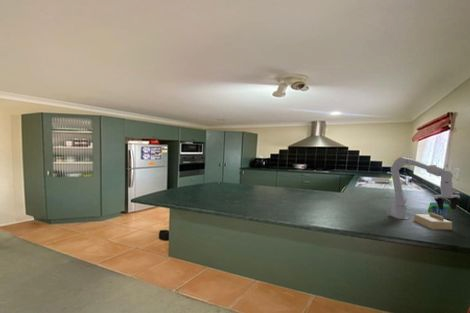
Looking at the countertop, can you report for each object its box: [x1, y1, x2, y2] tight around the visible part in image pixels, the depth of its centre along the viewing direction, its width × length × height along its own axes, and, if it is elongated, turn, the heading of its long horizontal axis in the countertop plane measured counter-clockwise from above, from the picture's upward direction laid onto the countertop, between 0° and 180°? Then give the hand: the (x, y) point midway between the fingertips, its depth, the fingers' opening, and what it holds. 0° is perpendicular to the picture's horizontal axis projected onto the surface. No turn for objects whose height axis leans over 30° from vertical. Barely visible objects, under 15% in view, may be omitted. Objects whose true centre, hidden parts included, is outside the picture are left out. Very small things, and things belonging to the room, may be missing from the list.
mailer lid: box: [413, 213, 453, 224], centre depth 153 cm, size 16×12×3 cm
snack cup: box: [427, 202, 451, 220], centre depth 170 cm, size 16×10×10 cm
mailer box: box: [413, 214, 453, 230], centre depth 154 cm, size 16×12×4 cm
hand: (447, 209), depth 152 cm, fingers open, 7 cm apart
